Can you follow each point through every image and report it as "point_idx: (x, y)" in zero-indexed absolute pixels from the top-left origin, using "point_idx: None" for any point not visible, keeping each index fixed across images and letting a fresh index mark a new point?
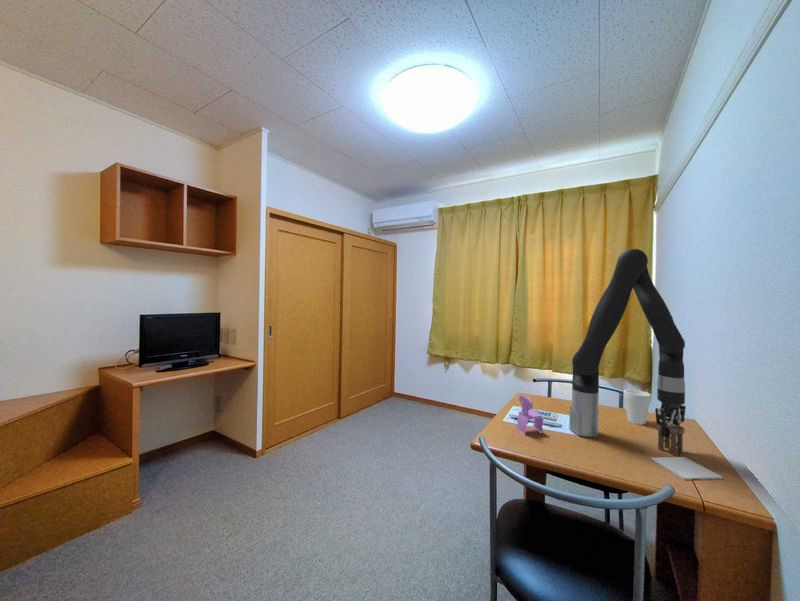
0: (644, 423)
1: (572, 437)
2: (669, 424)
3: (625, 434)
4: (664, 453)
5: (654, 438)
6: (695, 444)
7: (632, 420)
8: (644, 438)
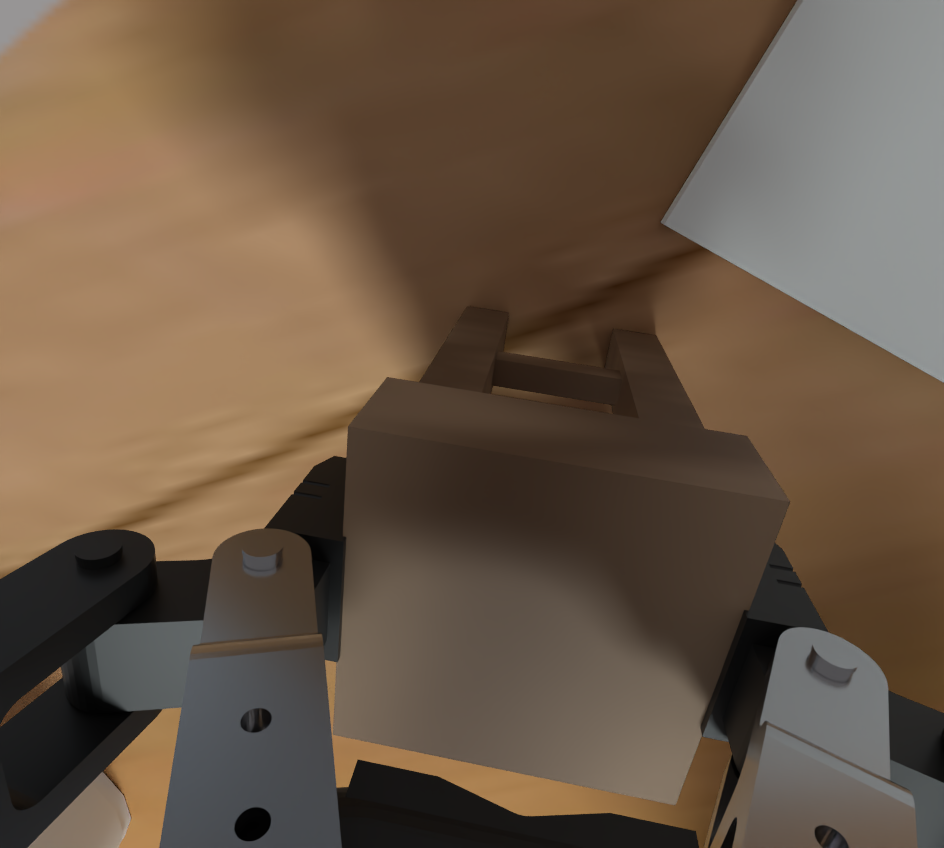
0: None
1: None
2: (804, 687)
3: (490, 783)
4: None
5: None
6: (39, 304)
7: (112, 839)
8: None
